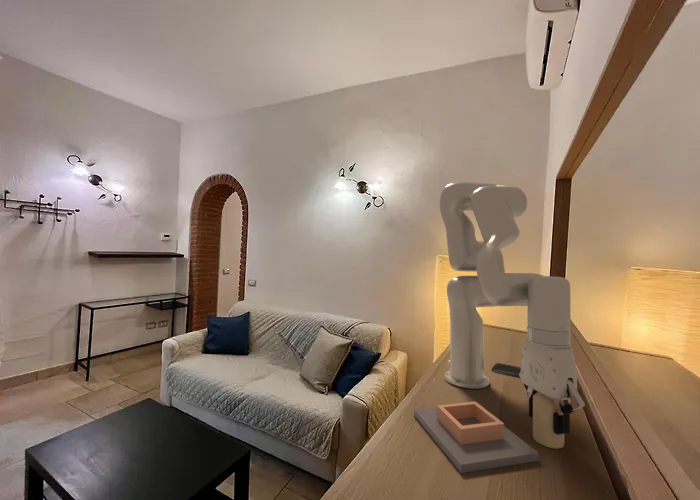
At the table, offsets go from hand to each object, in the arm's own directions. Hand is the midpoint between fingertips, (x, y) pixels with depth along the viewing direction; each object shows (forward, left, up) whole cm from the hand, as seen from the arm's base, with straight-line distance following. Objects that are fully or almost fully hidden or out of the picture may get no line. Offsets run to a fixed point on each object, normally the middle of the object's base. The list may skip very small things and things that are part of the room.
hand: (548, 423), depth 65 cm
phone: (-33, +21, -4) cm, 39 cm away
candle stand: (-5, -15, -3) cm, 16 cm away
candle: (0, 0, -4) cm, 4 cm away
